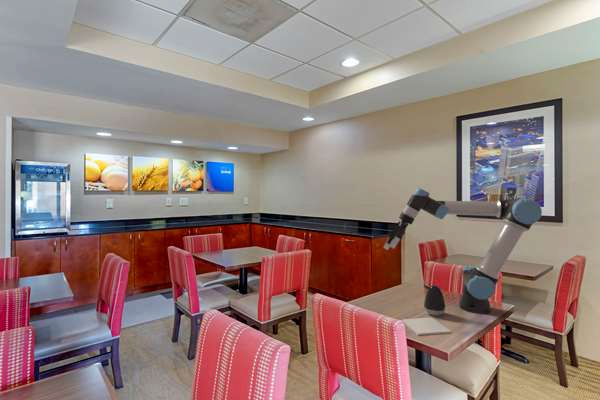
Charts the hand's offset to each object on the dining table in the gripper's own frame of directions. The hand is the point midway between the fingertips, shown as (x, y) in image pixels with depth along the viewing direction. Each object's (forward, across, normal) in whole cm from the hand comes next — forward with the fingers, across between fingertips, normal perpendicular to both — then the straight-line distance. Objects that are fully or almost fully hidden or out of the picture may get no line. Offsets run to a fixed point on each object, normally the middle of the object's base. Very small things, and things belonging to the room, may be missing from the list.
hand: (388, 248), depth 176 cm
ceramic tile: (+20, +14, +36) cm, 43 cm away
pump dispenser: (+18, -5, +36) cm, 41 cm away
